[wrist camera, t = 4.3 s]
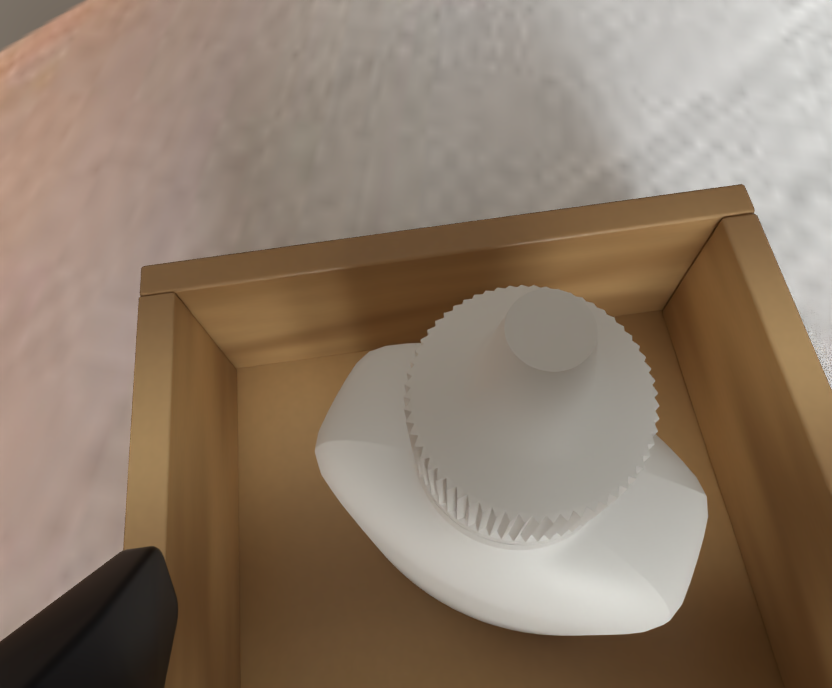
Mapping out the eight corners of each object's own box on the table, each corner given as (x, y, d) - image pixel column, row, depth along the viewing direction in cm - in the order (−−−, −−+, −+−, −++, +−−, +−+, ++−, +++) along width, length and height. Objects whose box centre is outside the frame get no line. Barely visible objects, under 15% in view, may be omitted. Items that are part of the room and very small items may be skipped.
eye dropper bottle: (483, 403, 17) (536, 1, 6) (629, 586, 15) (1085, 459, 4) (346, 500, 16) (131, 227, 5) (482, 707, 14) (578, 943, 3)
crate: (920, 997, 12) (1181, 1200, 8) (208, 1102, 12) (71, 1364, 8) (676, 288, 19) (744, 182, 14) (213, 351, 19) (140, 264, 14)
